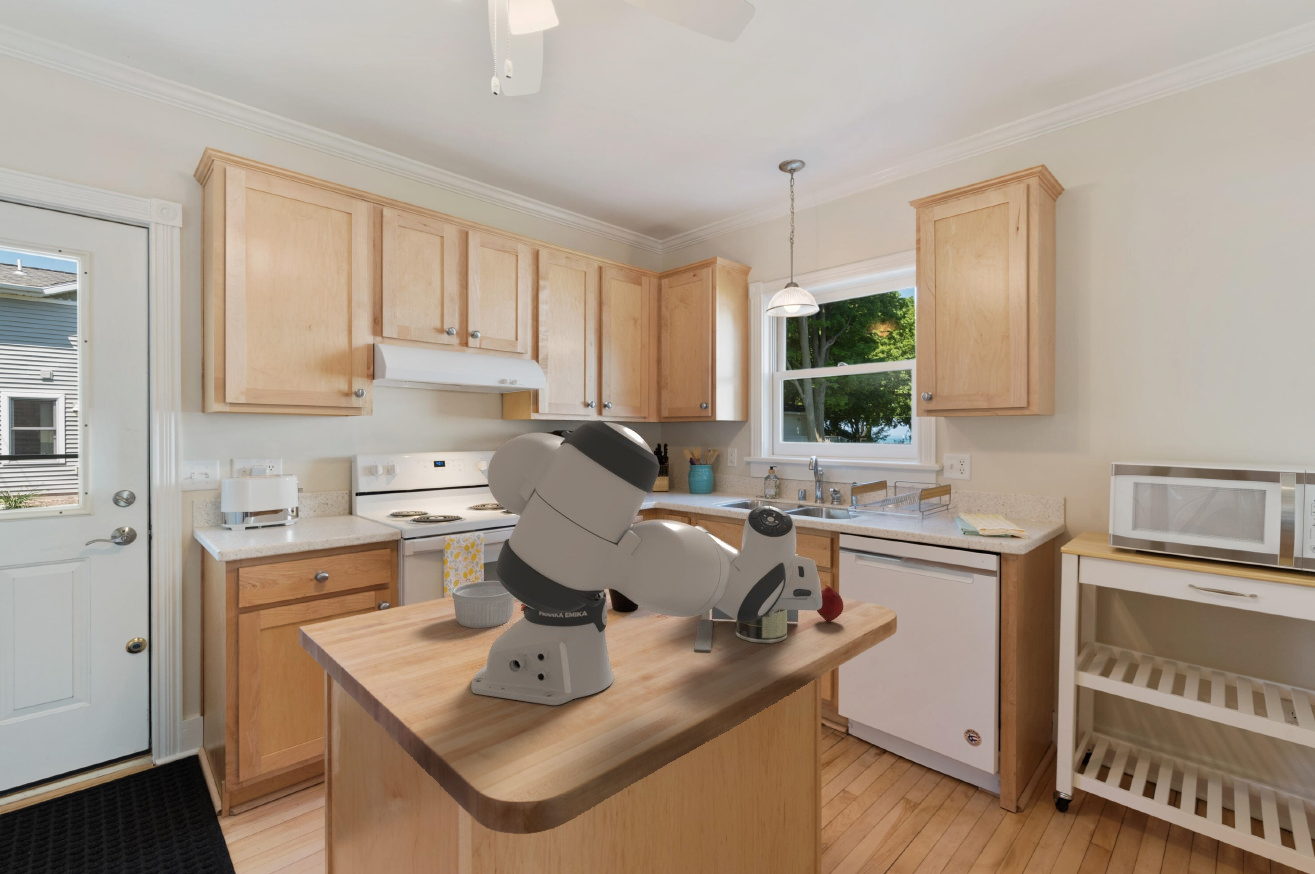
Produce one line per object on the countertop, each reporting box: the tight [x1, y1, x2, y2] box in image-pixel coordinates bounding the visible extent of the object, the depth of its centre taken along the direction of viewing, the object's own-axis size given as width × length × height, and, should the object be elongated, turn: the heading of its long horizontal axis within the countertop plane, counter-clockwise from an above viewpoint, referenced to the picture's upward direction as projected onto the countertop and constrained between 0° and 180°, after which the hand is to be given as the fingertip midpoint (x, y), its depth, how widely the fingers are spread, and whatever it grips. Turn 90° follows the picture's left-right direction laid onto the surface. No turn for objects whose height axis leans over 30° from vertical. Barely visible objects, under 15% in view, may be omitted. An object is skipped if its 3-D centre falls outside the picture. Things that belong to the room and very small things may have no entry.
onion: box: [816, 583, 844, 623], centre depth 131 cm, size 6×6×8 cm
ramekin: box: [451, 580, 516, 629], centre depth 132 cm, size 13×13×7 cm
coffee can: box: [735, 609, 788, 644], centre depth 123 cm, size 10×10×14 cm
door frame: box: [694, 609, 714, 653], centre depth 128 cm, size 3×28×16 cm, turn 174°
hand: (763, 613), depth 118 cm, fingers closed, pressing on coffee can
